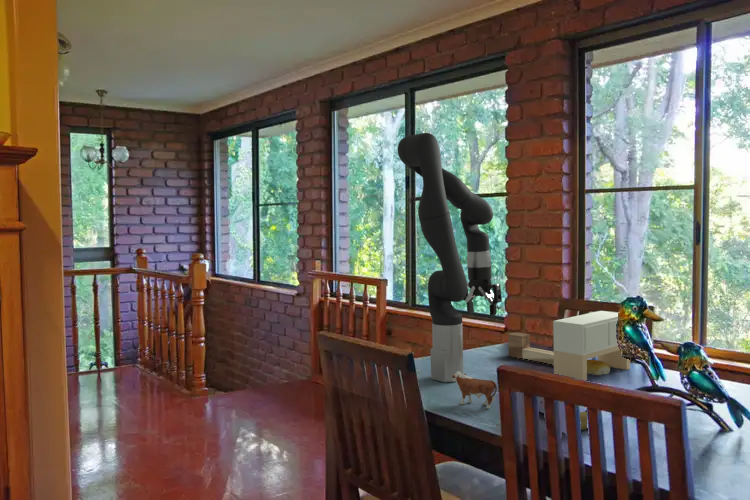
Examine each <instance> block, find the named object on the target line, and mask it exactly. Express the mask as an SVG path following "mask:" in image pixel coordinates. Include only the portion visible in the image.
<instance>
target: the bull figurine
mask: <svg viewBox="0 0 750 500" xmlns="http://www.w3.org/2000/svg"><path fill="white" fill-rule="evenodd" d="M452 378H453V381H455V383H456V384H457V386H458V389H459V391H460V392H461V400H460V402H459V403H458V404H459V405H461V406H462V405H464V404H465V399H466V397H467V398H468V400H467V403H468V404H470V403H473V399H472V396H477V398H478V399H480V398H481V397H482V396H483V395H484V396H485V397H486V399H485V401H484V402H483V403H482V405H483V406H486V408H485V409H486V410H489V409H490V408H491V407H492V403H493V402H494V400H495V398H496V393H497V391H498V386H497V383H496V382H495V381H494V380H491V379H480V378H474V377H471V376H467V374H466V373H463V374H461V373H460V372H459V371H458V372H456V373H455V374H454V375H452Z"/></svg>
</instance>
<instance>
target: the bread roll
mask: <svg viewBox="0 0 750 500" xmlns="http://www.w3.org/2000/svg"><path fill="white" fill-rule="evenodd" d="M610 371H611V367H609V365H607V364H606V363H605V362H603V361H598V359H594V358H590V359H587V375H589V374H595V375H594V376H603V375H602V374H606V375H609V374H610V373H611V372H610Z"/></svg>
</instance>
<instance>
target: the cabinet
mask: <svg viewBox="0 0 750 500" xmlns="http://www.w3.org/2000/svg"><path fill="white" fill-rule="evenodd" d="M618 313H619V312H617V311H606V310H597V311H593V312H590V313H589V312H588V313H584V314H579V315H575V316H570V317H565V318H562V319H561V318H560V319H557V320H553V321H552V323H553V326H552V327H553V328H552V329H553V352H554V365H553V375H554V374H559V375H564V376H569V377H574V378H577V379H583V380H587V381H588V374H587V360H589V359H594V358H596V357H597V361H603V362H605V363H606V364H607V365H609V367H610V368H615V369H619V370H620V369H621V370H625V371H626V370H630V369H631V359H630V360H629V359H626V358H624V357H622V356H621V353H620V349H619V347H618V344H617V339H616V324H617V320H618Z"/></svg>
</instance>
